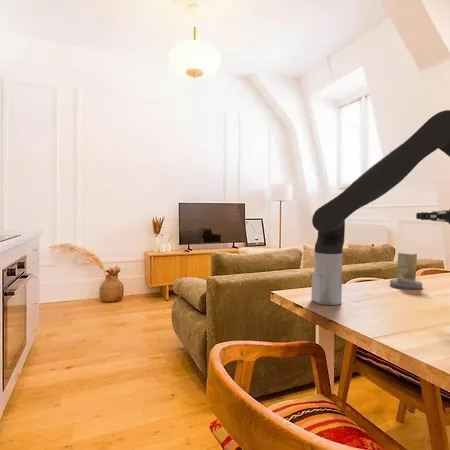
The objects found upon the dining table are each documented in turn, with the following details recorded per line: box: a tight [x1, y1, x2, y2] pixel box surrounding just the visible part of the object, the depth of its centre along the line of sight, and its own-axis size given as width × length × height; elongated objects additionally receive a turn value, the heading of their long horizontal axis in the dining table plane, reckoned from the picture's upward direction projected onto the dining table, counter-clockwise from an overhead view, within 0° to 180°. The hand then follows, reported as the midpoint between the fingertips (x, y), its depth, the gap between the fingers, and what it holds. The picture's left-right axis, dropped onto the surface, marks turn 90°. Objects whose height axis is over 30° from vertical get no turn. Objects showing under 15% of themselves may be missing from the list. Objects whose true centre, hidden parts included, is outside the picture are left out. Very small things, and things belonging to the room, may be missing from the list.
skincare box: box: [396, 251, 418, 283], centre depth 143 cm, size 6×4×12 cm
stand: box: [389, 278, 423, 291], centre depth 143 cm, size 12×12×2 cm
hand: (427, 215), depth 120 cm, fingers open, 8 cm apart
